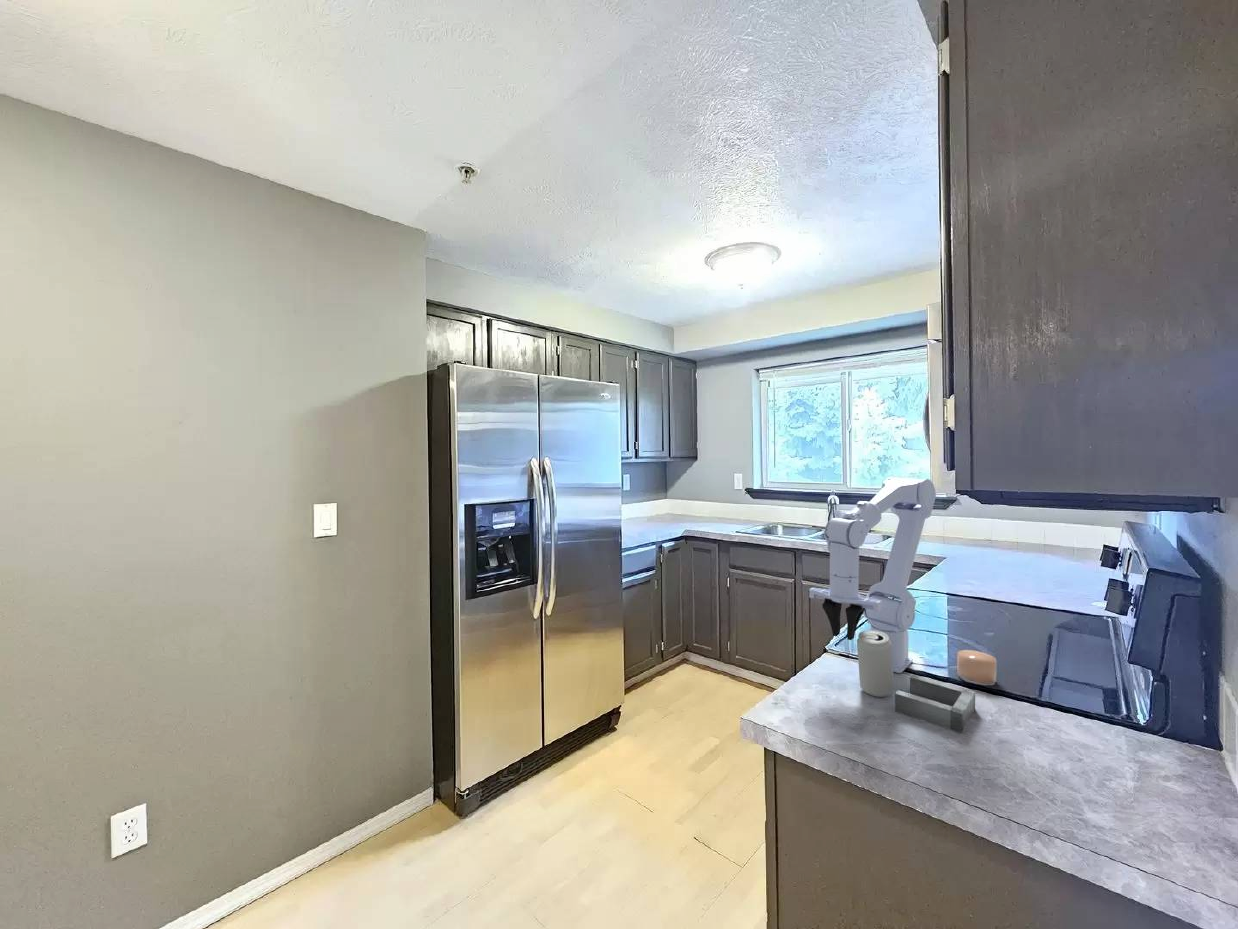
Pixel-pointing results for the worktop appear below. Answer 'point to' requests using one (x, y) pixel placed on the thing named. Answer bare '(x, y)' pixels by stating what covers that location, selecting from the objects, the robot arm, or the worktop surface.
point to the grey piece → (936, 703)
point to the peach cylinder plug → (976, 666)
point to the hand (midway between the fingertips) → (843, 636)
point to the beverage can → (875, 663)
